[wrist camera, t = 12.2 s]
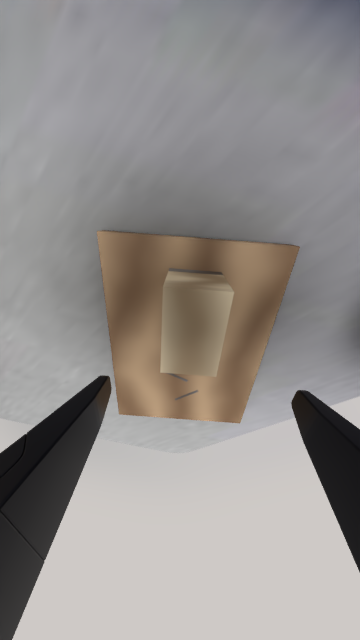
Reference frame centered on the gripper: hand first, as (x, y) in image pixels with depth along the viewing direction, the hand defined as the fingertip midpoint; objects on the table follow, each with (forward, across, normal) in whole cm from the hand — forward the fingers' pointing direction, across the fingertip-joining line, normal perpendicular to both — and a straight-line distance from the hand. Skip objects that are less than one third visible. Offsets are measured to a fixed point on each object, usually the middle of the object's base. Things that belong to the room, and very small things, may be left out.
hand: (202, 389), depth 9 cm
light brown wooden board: (+11, 0, +5) cm, 12 cm away
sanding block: (+10, 0, 0) cm, 10 cm away
